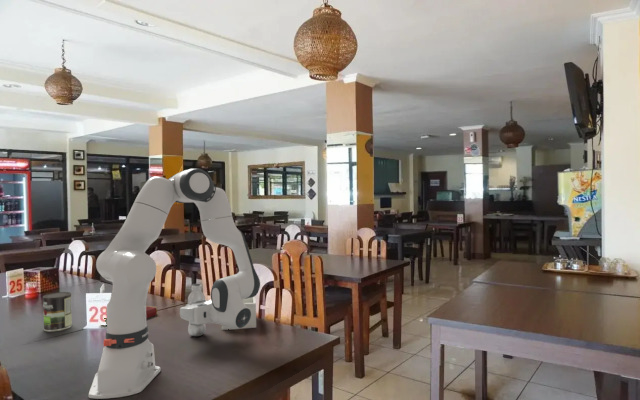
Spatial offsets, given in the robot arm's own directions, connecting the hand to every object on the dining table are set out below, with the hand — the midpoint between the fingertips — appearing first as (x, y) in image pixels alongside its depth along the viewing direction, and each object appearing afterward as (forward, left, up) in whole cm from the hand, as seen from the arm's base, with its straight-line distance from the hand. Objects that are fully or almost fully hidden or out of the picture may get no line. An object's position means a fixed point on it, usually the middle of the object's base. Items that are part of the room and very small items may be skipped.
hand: (195, 304), depth 161 cm
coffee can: (+24, +59, -13) cm, 65 cm away
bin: (+11, -17, -12) cm, 23 cm away
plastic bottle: (0, 0, -12) cm, 12 cm away
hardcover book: (+29, +32, -13) cm, 45 cm away
